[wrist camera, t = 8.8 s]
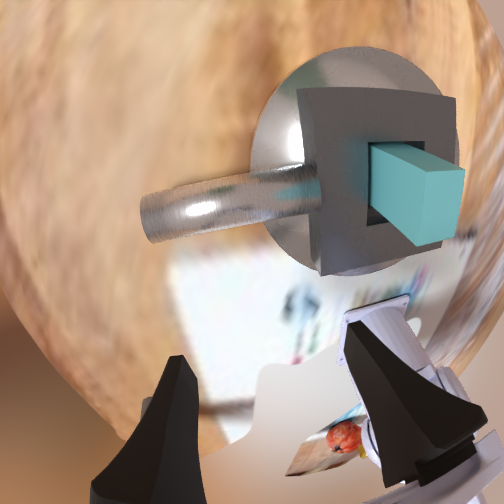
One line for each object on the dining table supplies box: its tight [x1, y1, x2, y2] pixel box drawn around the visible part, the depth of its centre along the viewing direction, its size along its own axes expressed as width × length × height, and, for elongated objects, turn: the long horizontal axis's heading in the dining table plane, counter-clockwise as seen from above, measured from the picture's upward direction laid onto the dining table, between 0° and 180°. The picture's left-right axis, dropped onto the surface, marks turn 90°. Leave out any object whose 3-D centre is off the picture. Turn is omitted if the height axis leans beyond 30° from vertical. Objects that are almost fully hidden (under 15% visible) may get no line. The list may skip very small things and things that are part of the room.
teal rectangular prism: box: [368, 141, 465, 246], centre depth 14 cm, size 4×3×7 cm
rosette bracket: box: [140, 46, 459, 276], centre depth 16 cm, size 18×24×4 cm
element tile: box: [358, 443, 369, 458], centre depth 60 cm, size 15×15×5 cm
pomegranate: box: [326, 421, 362, 453], centre depth 42 cm, size 7×7×10 cm
